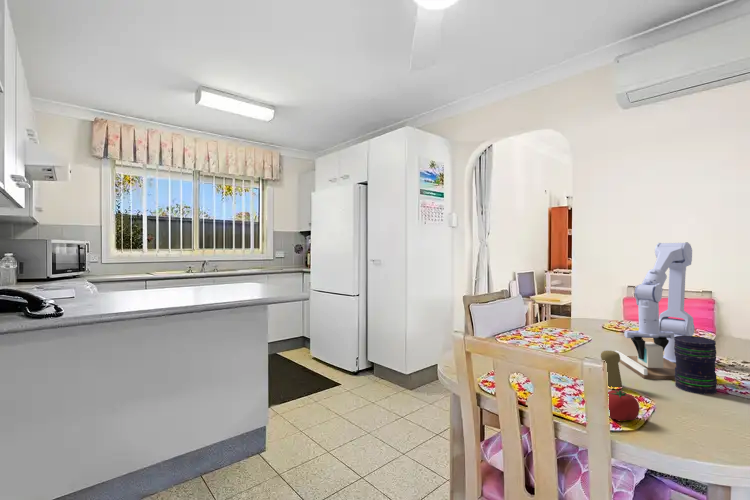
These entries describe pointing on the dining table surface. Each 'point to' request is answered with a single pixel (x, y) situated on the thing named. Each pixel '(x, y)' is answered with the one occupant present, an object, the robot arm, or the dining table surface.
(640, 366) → the brown tray
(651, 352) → the carton
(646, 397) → the dining table surface
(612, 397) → the tomato
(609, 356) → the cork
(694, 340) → the dark blue cylinder
